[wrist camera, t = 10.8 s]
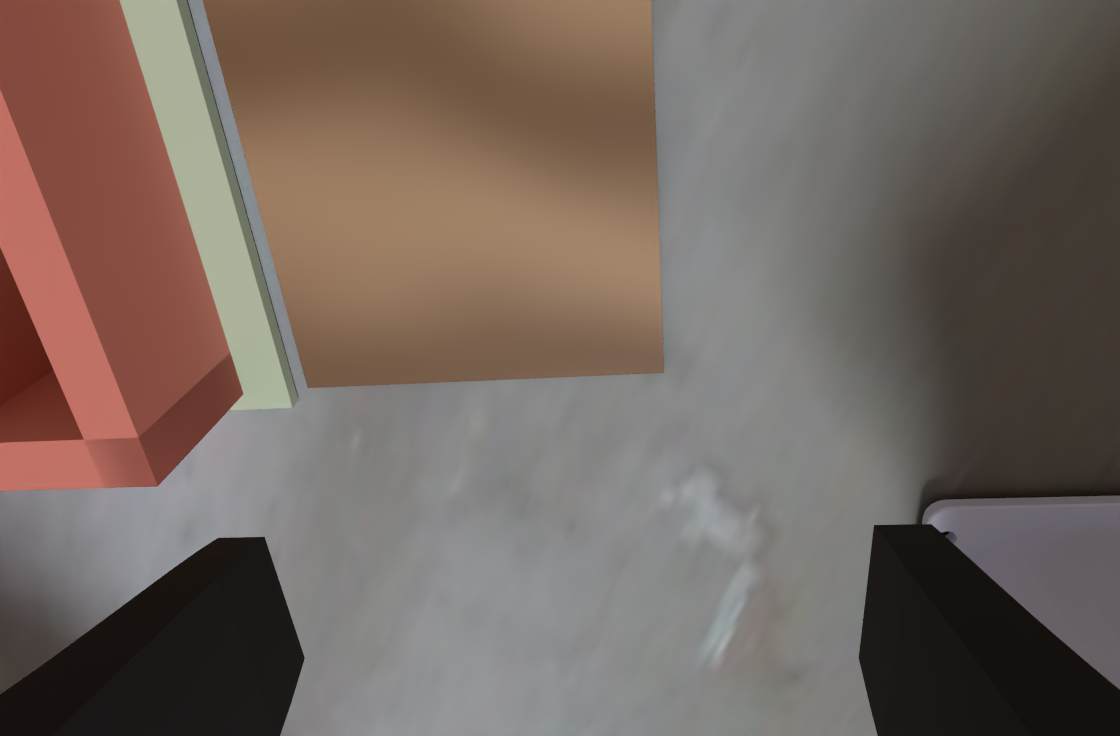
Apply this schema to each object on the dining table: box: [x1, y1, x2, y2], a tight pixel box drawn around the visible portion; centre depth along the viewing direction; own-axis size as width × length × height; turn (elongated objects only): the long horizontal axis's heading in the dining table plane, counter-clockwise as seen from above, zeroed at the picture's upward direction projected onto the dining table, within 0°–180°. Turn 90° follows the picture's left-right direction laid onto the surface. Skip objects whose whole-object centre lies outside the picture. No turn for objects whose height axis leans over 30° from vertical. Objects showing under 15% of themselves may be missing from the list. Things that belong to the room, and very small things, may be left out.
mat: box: [120, 0, 298, 410], centre depth 18 cm, size 11×8×1 cm
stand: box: [203, 0, 664, 388], centre depth 14 cm, size 14×9×5 cm, turn 5°
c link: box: [0, 0, 243, 491], centre depth 16 cm, size 10×6×4 cm, turn 5°
